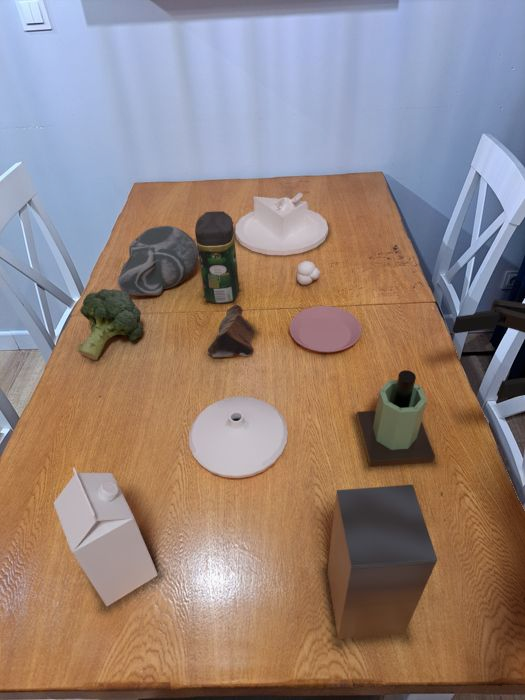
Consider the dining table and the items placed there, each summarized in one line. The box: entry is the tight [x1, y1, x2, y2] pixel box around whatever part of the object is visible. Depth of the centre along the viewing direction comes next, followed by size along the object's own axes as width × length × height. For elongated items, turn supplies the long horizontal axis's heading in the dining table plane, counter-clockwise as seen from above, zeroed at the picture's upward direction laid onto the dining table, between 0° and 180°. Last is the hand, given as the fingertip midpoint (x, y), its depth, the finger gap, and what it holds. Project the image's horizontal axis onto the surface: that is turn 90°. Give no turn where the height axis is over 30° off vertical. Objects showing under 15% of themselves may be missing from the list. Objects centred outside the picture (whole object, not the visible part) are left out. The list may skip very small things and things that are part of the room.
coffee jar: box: [194, 210, 240, 305], centre depth 105 cm, size 10×8×19 cm
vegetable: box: [77, 288, 144, 361], centre depth 97 cm, size 12×13×15 cm
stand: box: [326, 484, 438, 640], centre depth 54 cm, size 8×8×20 cm
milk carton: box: [53, 467, 158, 607], centre depth 59 cm, size 7×7×19 cm
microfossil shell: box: [296, 260, 321, 286], centre depth 112 cm, size 4×5×6 cm
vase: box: [188, 395, 289, 479], centre depth 77 cm, size 16×16×7 cm
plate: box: [289, 305, 362, 353], centre depth 99 cm, size 14×14×2 cm
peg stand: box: [356, 369, 436, 468], centre depth 75 cm, size 10×10×14 cm
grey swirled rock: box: [117, 225, 199, 296], centre depth 112 cm, size 11×16×20 cm
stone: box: [207, 304, 256, 359], centre depth 98 cm, size 9×6×15 cm
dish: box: [234, 192, 329, 256], centre depth 128 cm, size 25×25×11 cm
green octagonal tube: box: [373, 379, 428, 450], centre depth 75 cm, size 6×6×9 cm
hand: (476, 355), depth 69 cm, fingers open, 13 cm apart
